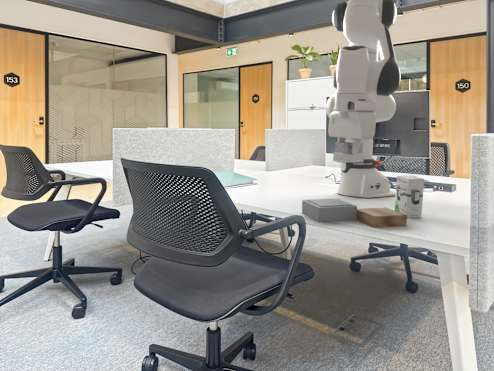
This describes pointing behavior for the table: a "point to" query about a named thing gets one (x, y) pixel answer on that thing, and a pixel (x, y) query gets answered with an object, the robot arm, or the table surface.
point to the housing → (347, 153)
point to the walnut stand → (381, 217)
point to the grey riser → (329, 210)
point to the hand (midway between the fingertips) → (348, 154)
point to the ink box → (409, 195)
